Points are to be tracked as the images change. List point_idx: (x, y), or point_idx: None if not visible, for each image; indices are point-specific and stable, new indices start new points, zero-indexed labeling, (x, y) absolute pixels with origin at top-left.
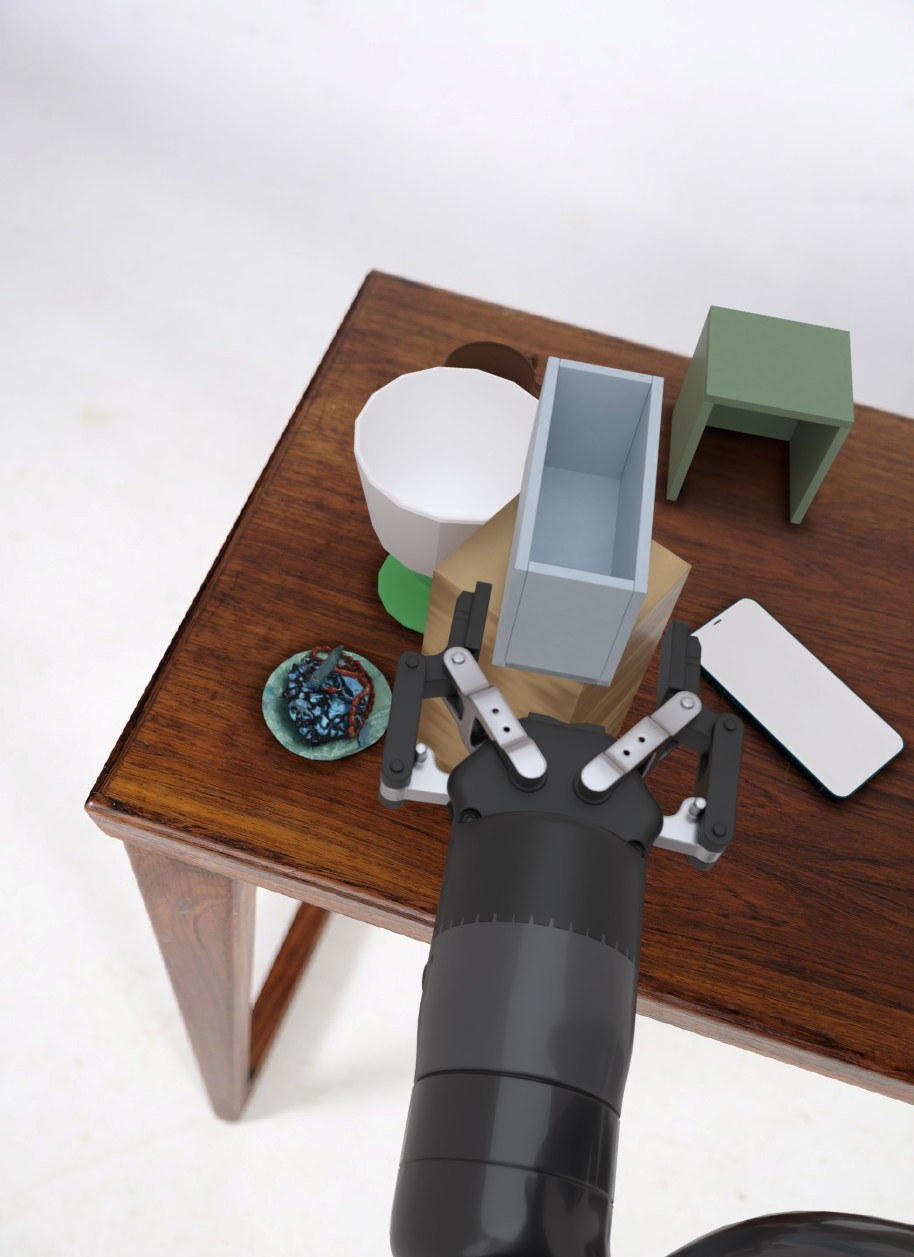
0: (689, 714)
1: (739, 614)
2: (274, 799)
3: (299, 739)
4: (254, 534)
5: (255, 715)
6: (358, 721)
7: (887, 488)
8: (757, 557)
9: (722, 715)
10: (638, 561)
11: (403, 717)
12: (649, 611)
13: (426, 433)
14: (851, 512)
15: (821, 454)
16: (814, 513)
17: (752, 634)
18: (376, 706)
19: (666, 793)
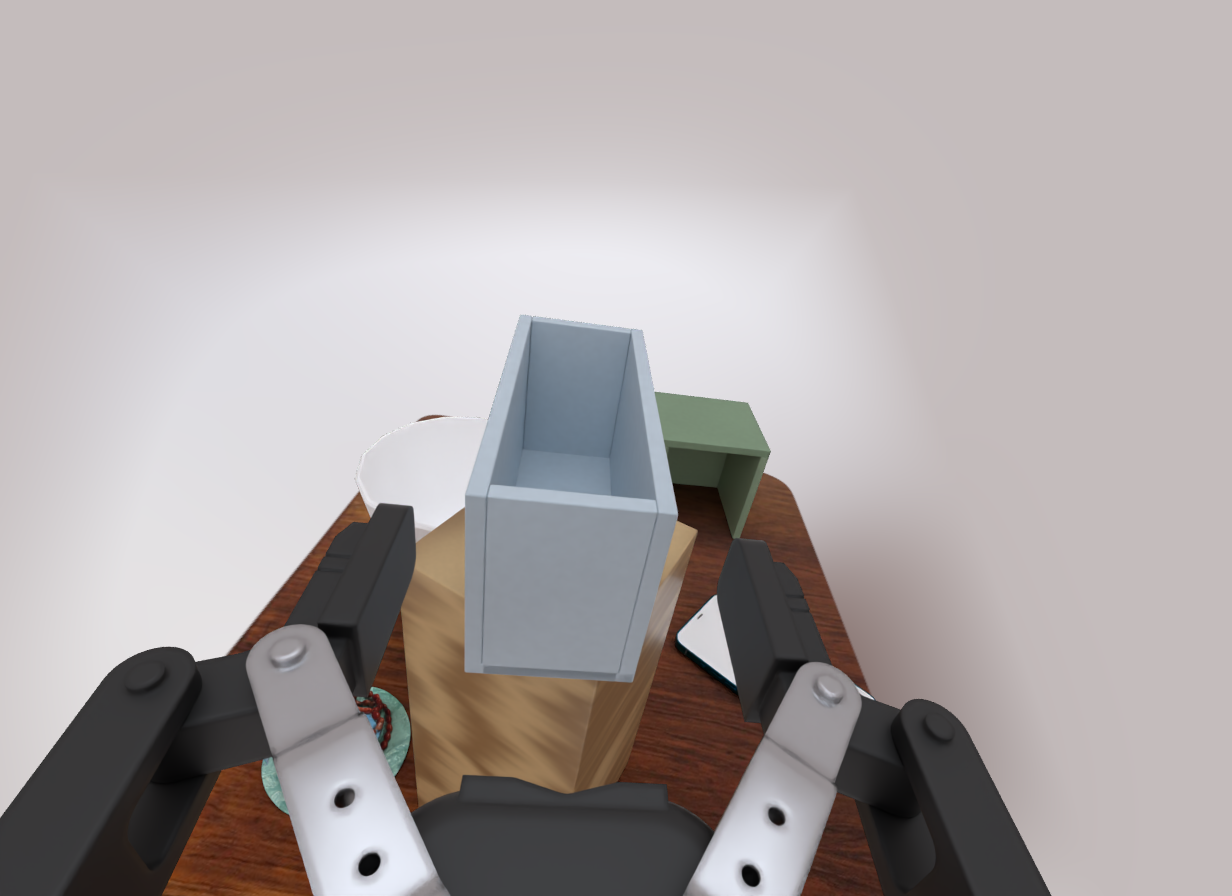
0: (844, 715)
1: (715, 608)
2: (252, 886)
3: None
4: (294, 587)
5: (253, 774)
6: None
7: (788, 511)
8: (716, 564)
9: (909, 706)
10: (655, 476)
11: (11, 878)
12: (664, 580)
13: (440, 477)
14: (771, 528)
15: (748, 482)
16: (747, 531)
17: None
18: (392, 741)
19: (689, 791)
